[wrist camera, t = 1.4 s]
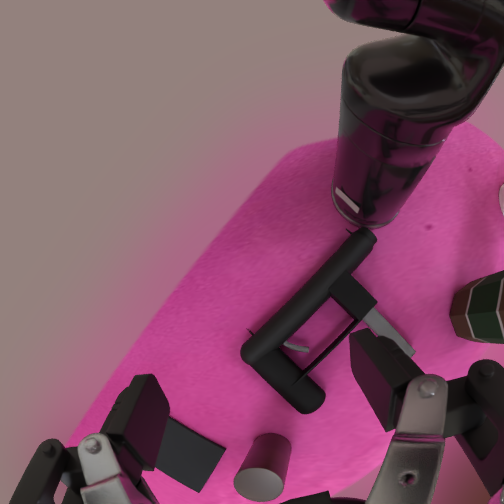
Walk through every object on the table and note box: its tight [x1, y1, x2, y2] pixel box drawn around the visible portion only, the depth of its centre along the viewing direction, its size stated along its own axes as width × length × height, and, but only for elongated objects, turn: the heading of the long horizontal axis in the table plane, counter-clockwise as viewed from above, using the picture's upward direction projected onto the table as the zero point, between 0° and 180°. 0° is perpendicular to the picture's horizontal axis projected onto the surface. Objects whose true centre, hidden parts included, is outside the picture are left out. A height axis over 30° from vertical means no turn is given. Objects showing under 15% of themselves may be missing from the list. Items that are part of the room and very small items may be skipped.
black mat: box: [155, 416, 226, 493], centre depth 28 cm, size 10×10×1 cm
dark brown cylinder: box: [234, 433, 291, 502], centre depth 22 cm, size 5×5×9 cm
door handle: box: [240, 226, 416, 414], centre depth 28 cm, size 3×20×16 cm
